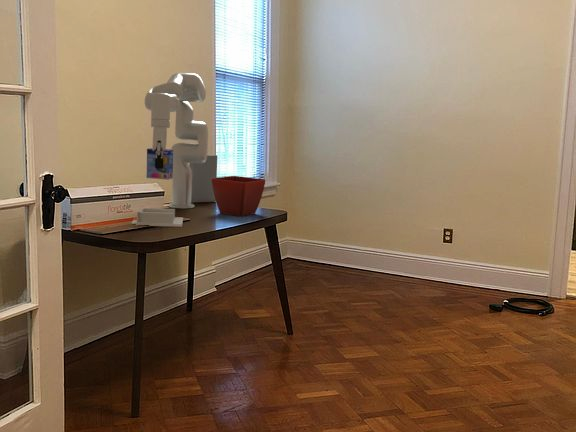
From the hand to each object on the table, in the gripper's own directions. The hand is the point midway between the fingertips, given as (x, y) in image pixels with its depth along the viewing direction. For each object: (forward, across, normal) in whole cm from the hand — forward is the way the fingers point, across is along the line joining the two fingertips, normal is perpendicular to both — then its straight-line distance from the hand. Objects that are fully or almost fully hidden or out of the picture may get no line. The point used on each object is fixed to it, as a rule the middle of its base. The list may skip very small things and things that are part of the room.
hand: (159, 167), depth 240 cm
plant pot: (+24, -29, +35) cm, 51 cm away
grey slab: (+24, -64, +18) cm, 70 cm away
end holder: (+23, 0, 0) cm, 23 cm away
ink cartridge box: (+5, 0, 0) cm, 5 cm away
